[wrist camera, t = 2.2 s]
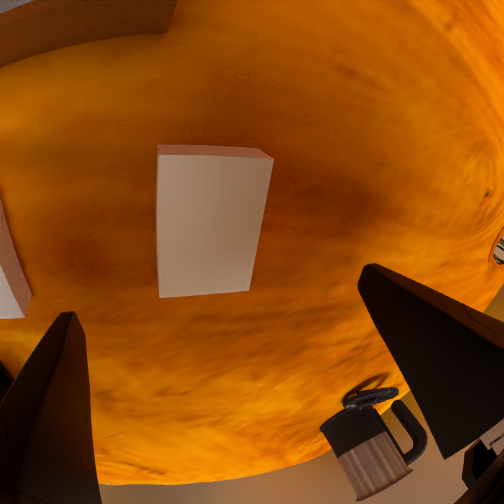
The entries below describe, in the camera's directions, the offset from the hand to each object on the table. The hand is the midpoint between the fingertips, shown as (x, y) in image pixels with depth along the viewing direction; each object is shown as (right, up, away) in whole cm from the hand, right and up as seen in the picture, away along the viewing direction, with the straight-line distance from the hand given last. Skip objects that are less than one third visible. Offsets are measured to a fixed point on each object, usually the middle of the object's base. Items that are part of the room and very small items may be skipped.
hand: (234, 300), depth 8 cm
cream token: (-2, +3, +4) cm, 6 cm away
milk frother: (+15, -21, +28) cm, 38 cm away
